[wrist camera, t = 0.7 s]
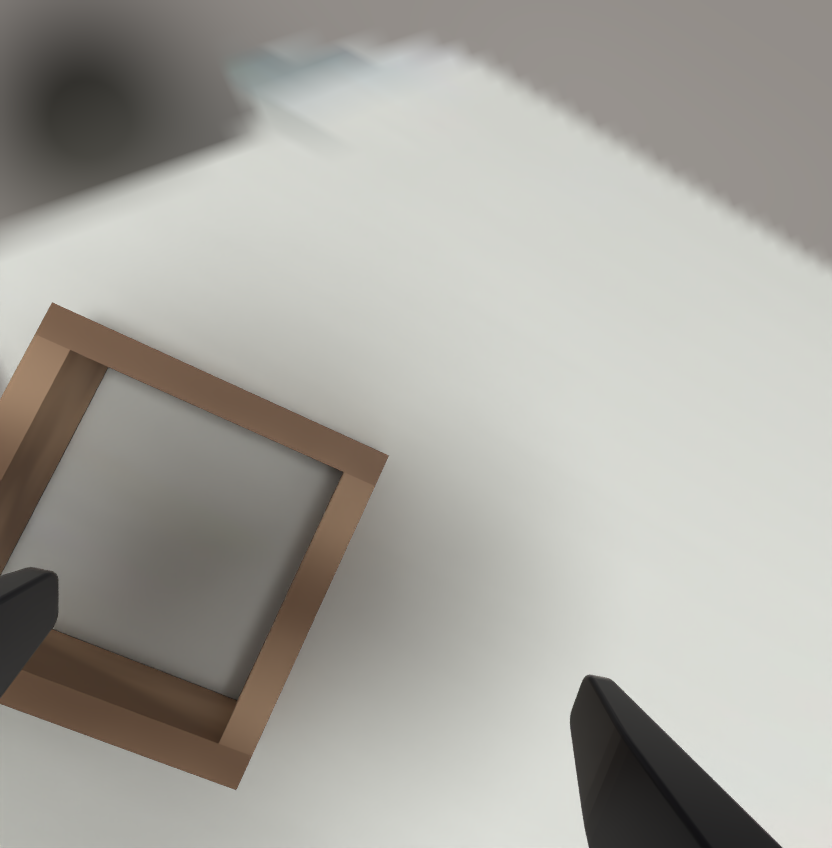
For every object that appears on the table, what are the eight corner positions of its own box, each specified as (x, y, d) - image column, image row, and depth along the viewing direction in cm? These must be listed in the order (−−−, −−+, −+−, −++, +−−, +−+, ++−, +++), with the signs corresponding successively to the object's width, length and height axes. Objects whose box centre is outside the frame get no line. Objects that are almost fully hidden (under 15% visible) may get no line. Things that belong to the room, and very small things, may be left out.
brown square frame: (252, 740, 21) (236, 790, 18) (-63, 621, 19) (-137, 654, 17) (383, 453, 22) (388, 455, 19) (94, 322, 21) (52, 302, 18)
